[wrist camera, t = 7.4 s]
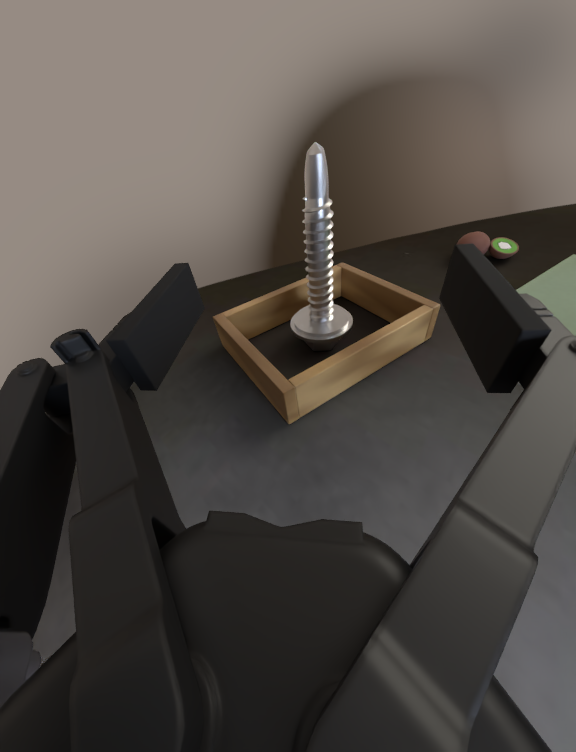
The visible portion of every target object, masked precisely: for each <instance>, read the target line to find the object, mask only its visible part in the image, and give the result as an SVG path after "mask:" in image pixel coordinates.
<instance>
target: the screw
mask: <svg viewBox="0 0 576 752" xmlns="http://www.w3.org/2000/svg"><path fill="white" fill-rule="evenodd" d="M303 200H305V209H303V210H302V211H303V212H305V220H303V221H302V222H303V223H305V226H306V230H304V231H303V233H305V234H306V240H305V241H304V243H305V244H307V249H306V250H305V251H304V252H305V253H307V258H306V259H305V261H306V262H307V263H308V266H307V267H306V271H308V275H307V276H306V278H307V279H308V280H309V282H308V283H307V287H309V290H308V291H307V294H308V295H310V297H309V298H308V302H310V304H309V305H308V306H306V307H304V308H302V309H300V310H299V311H298V312H297V313H295V315H294V316H293V317H292V319H291V323H290V325H291V330H292V332H293V334H294V335H295V336H296V337H298V338H299V339H301V340H303V341H305V343H306V344H307V345H308V346H309V347H310V348H311V349H312V350H313V351H326V350H332V348H333V347H334V346H335V344H336V343H337V342H338V341H339V339H341V338H343V337H344V336H346V335H347V334H348V333H349V332H350V331H351V329H352V326H353V318H352V315H351V314H350V313H349V312H348V311H347V310H345V309H344V308H342V307H341V306H338V305H335V304H333V299H332V298H333V292H332V290H333V285H332V282H333V277H332V276H331V275H332V274H333V269H332V267H331V266H332V265H333V260H332V259H331V257H332V256H333V251H332V250H331V248H332V247H333V242H332V241H331V238H332V237H333V232H332V231H331V230H330V228H332V226H333V222H332V221H331V220H330V218H331V217H332V215H333V211H331V210H330V205H331V204H332V200H331V199H329V197H328V171H327V163H326V157H325V152H324V148H323V147H322V146H320V145H319V144H317V143H316V142H315V143H314V144H313V145H312V146H311V147H310V148H309V150H308V151H307V156H306V163H305V197H304V198H303Z"/></svg>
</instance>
